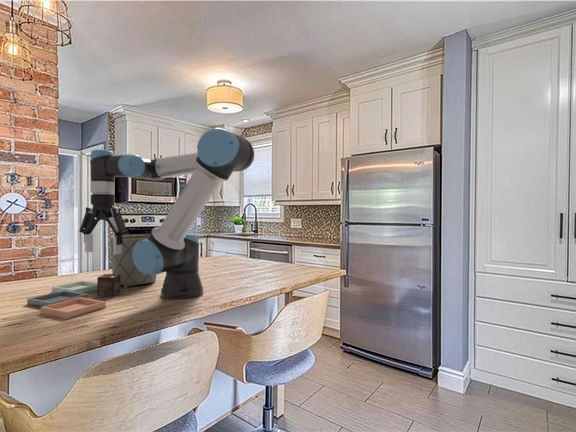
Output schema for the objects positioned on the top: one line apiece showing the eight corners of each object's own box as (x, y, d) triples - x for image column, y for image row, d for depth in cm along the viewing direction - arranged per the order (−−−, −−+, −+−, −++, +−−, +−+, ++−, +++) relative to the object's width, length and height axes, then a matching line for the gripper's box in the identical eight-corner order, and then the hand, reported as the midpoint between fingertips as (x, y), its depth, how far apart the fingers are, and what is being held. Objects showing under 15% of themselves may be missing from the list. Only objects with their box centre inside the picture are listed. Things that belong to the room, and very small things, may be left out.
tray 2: (104, 288, 134) (104, 283, 134) (73, 295, 123) (73, 290, 123) (83, 285, 139) (83, 280, 139) (52, 292, 128) (52, 286, 128)
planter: (102, 283, 144) (102, 236, 143) (145, 276, 158) (145, 234, 158) (122, 290, 131) (122, 239, 131) (166, 282, 146) (166, 237, 146)
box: (104, 293, 127) (104, 273, 127) (121, 292, 128) (121, 273, 127) (96, 297, 121) (96, 277, 121) (114, 297, 121) (114, 277, 121)
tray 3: (105, 307, 108) (105, 301, 108) (67, 319, 97) (67, 312, 97) (80, 303, 113) (80, 297, 113) (40, 313, 102) (40, 307, 102)
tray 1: (87, 299, 117) (87, 294, 117) (51, 309, 106) (51, 303, 106) (64, 295, 122) (64, 290, 122) (27, 304, 111) (27, 298, 111)
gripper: (138, 194, 119) (138, 253, 119) (86, 194, 127) (87, 250, 128) (121, 192, 112) (121, 256, 112) (67, 193, 120) (68, 252, 121)
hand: (103, 253), depth 120 cm, fingers open, 13 cm apart
